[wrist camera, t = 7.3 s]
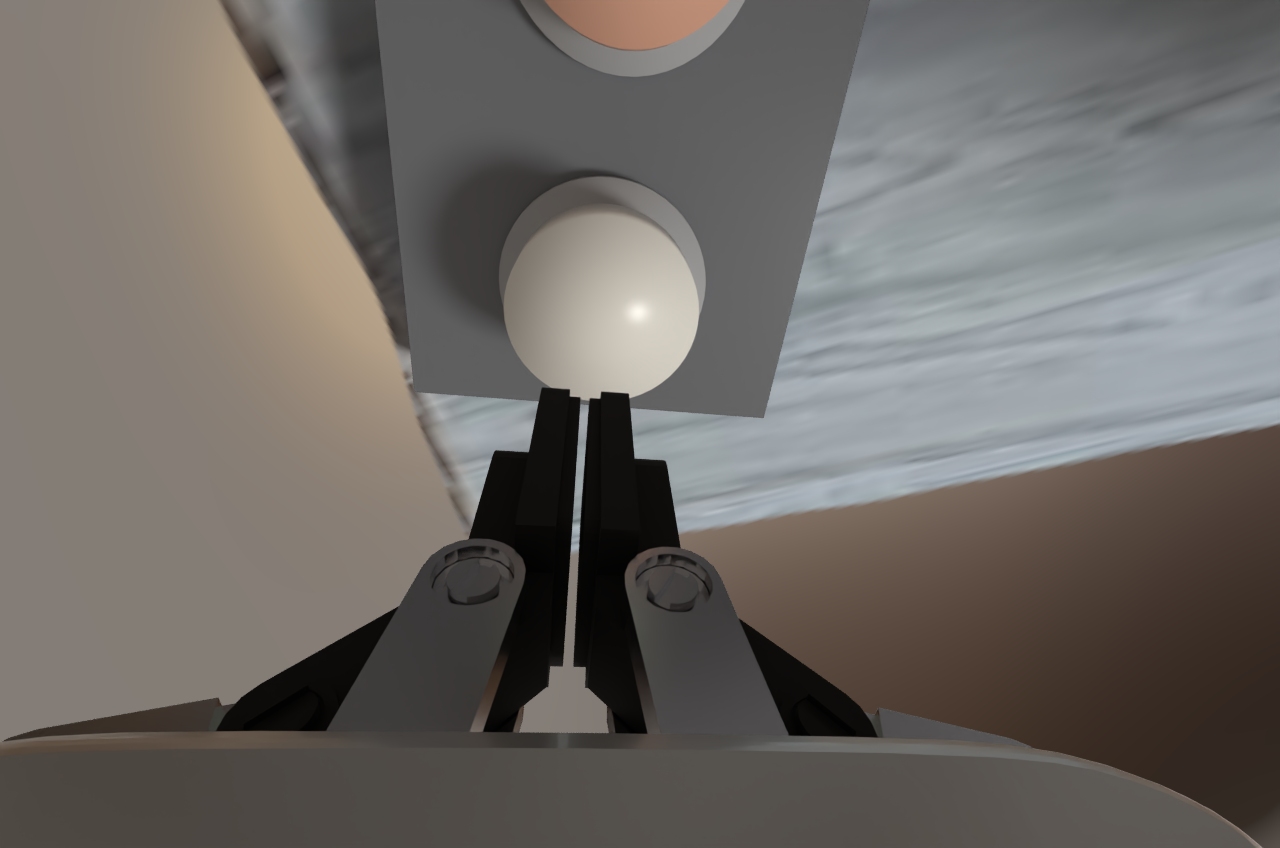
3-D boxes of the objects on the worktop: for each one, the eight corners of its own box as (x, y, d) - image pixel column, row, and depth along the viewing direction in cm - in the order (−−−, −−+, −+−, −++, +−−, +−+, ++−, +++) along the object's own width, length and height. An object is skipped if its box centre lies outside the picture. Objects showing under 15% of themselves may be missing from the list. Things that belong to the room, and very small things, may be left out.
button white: (705, 213, 18) (714, 227, 17) (678, 384, 21) (683, 408, 20) (512, 193, 18) (502, 204, 16) (512, 371, 21) (504, 394, 19)
